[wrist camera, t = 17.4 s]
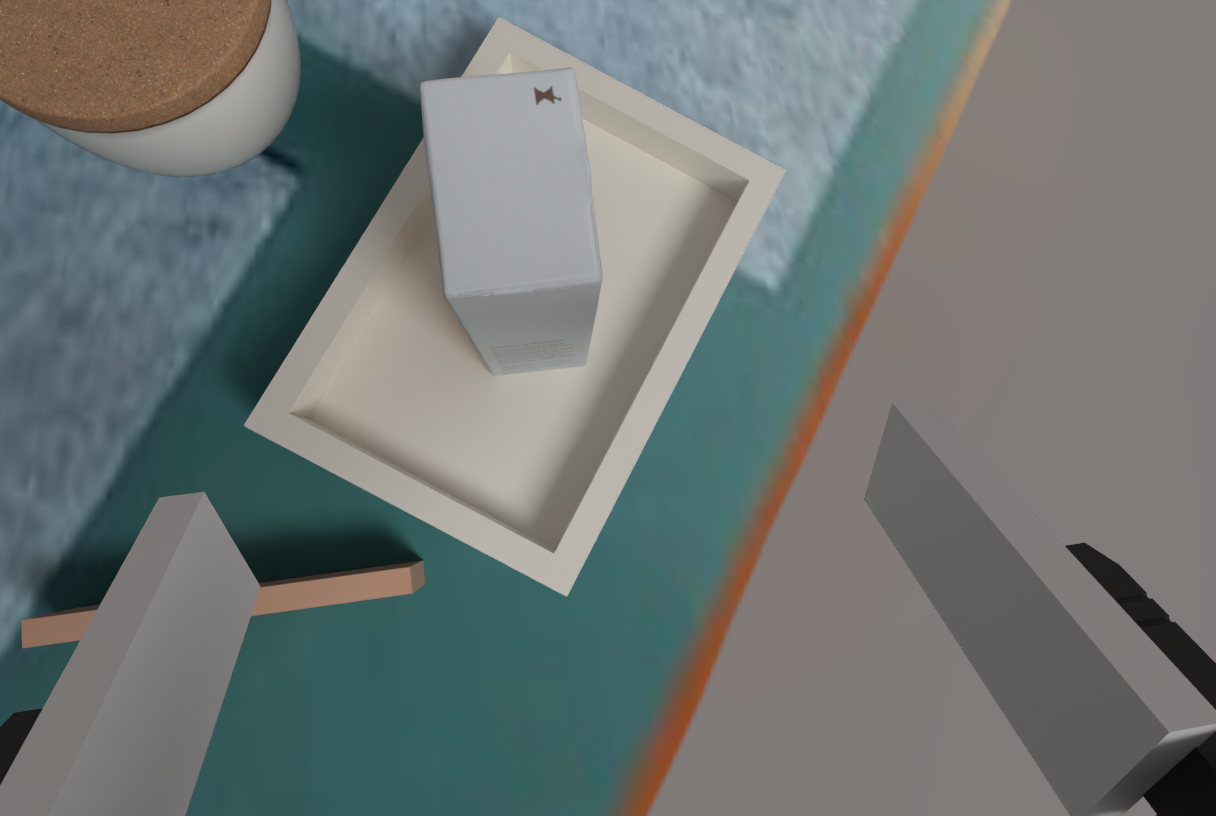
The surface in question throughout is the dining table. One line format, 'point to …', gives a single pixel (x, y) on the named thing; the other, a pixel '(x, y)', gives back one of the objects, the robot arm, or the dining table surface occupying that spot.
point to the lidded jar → (154, 77)
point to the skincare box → (514, 215)
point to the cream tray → (533, 401)
